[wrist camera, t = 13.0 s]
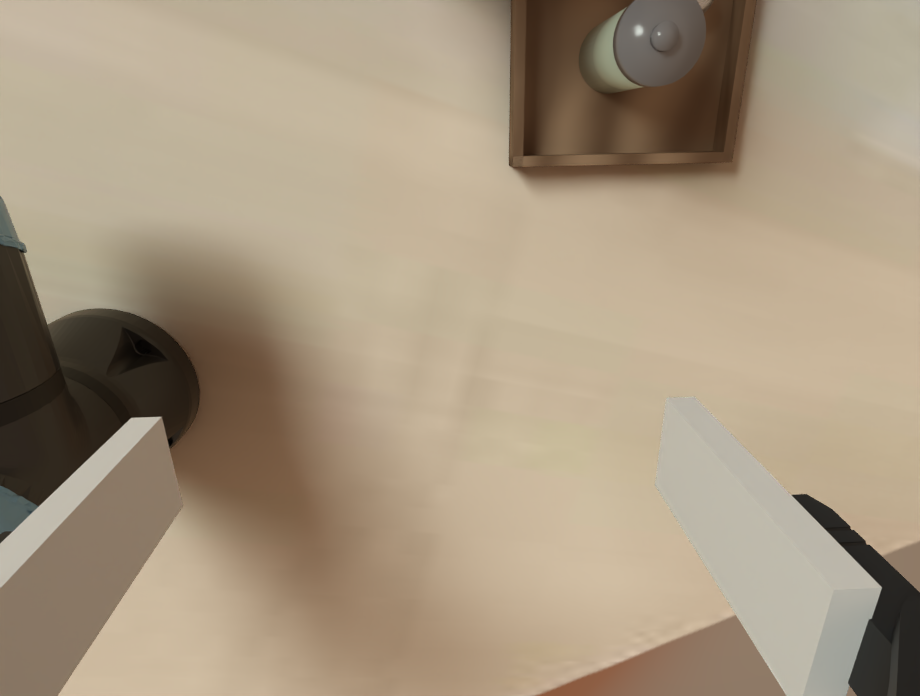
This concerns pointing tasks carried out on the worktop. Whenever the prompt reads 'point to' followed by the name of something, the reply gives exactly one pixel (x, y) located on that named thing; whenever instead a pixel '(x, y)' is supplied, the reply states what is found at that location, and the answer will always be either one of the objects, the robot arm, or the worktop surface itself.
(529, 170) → the worktop surface
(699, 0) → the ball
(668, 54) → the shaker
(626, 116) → the tray
